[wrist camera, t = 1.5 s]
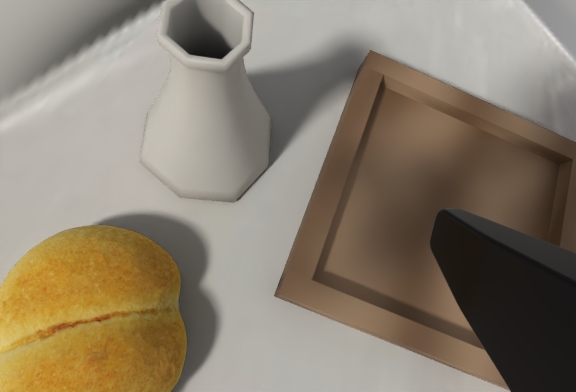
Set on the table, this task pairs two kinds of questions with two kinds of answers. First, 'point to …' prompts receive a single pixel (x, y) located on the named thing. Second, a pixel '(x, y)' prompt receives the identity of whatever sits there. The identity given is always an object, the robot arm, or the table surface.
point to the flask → (206, 104)
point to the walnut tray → (420, 207)
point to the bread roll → (92, 315)
